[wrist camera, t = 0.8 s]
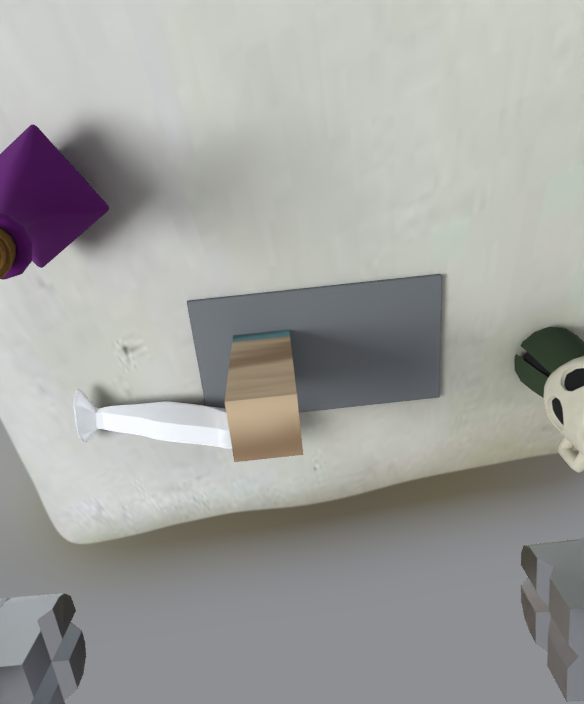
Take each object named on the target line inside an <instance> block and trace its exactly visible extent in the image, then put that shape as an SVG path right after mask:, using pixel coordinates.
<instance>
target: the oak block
mask: <svg viewBox="0 0 584 704" xmlns="http://www.w3.org/2000/svg"><path fill="white" fill-rule="evenodd" d="M225 408H226V414H227V420H228V426H229V432H230V438H231V444H232V450H233V456H234V462H239V461H248V460H258V459H267V458H276V457H286V456H295V455H303V449H302V439H301V430H300V420H299V410H298V401H297V391H296V383H295V374H294V366H293V357H292V349H291V340H290V332H289V330H280V331H271V332H262V333H252V334H243V335H233V340H232V347H231V355H230V363H229V371H228V379H227V386H226V394H225Z"/></svg>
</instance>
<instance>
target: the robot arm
mask: <svg viewBox="0 0 584 704" xmlns="http://www.w3.org/2000/svg"><path fill="white" fill-rule="evenodd" d="M521 566H522V567H523V569H524V570H525V573H526V574H527V576H528V577H527V578H526V580H525V581H524V582H523V584H522V585H521V603H522V608H523V613H524V618H525V620H526V623H527V626H528V629H529V631H530V633H531V635H532V637H533V639H534V641H535V643H536V644H537V645H539V646H541V647H542V648H543V649H545V650H546V651H548V658H547V666H548V668H549V670H550V671H551V674H552V675H553V677H554V679H555V681H556V683H557V685H558V686H559V688H560V690H561V692H562V694H563V696H564V698H565V700H566V701H567V702H569V701H584V538H581V539H577V540H567V541H559V542H550V543H540V544H531V545H524V546H523V549H522V552H521ZM75 612H76V609H75V607H74V604H73V601H72V598H71V596H70V595H67V594H65V593H62V594H48V595H36V596H24V597H12V598H4V599H0V704H65V702H64V701H65V700H66V699H67V698H68V697H69V696H70V695H71V694H73V693H74V691H76V690H77V689H78V686H79V684H80V681H81V679H82V676H83V673H84V665H85V659H86V648H85V640H84V636H83V633H82V630H80V629H79V628H78V627H77V626H75V625H74V624H73V623H72V622H71V620H72V618H73V616H74V614H75Z"/></svg>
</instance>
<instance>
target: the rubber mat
mask: <svg viewBox="0 0 584 704" xmlns="http://www.w3.org/2000/svg"><path fill="white" fill-rule="evenodd" d="M187 306H188V312H189V317H190V323H191V328H192V334H193V339H194V345H195V350H196V356H197V361H198V367H199V372H200V378H201V383H202V388H203V394H204V399H205V405H206V406H211V407H218V408H224V409H226V408H225V394H226V386H227V379H228V371H229V363H230V355H231V347H232V340H233V335H243V334H252V333H262V332H271V331H280V330H289V332H290V340H291V349H292V357H293V366H294V374H295V383H296V391H297V401H298V410H299V412H307V411H316V410H326V409H335V408H344V407H354V406H363V405H372V404H382V403H391V402H400V401H410V400H419V399H428V398H438V397H439V396H440V333H441V274H436V275H427V276H417V277H408V278H398V279H389V280H379V281H370V282H360V283H351V284H342V285H332V286H323V287H313V288H304V289H294V290H285V291H275V292H266V293H257V294H247V295H238V296H228V297H219V298H209V299H200V300H191V301H187Z"/></svg>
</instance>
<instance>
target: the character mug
mask: <svg viewBox="0 0 584 704" xmlns="http://www.w3.org/2000/svg"><path fill="white" fill-rule="evenodd" d="M521 346H522V347H523V348H524V349H525V350H526V351H527V354H526V355H525V360H523V359H522V358H521V357H519V356H518V355H517V354H516V356H515V371H516V373H517V375H518V377H519V378H520V380H521V382H523V383H524V384H525V385H526V386H528V387H529V388H530V389H531V390H533V391H534V392H535V393H537V394H538V395H540V396H541V397H543V399H544V406H545V411H546V413H547V415H548V417H549V419H550V421H551V422H552V423H553V424H554V425H555V427H556V428H557V429H558V430H559V431H560V432H561V433H562V434H563V435H564V438H563V439H562V441H561V443H560V444H559V447H558V452H559V454H560V455H561V456H562V457H563V459H564V460H565V461H566V462H567V463H568V464H569V466H570V467H571V468H572V469H573V470H574V471H576V472H578V473H579V472H582V471H583V470H584V342H583V341H582V340H581V339H580V338H579V337H578V336H577V335H575V334H573V333H572V332H570V331H569V330H567V329H562V328H553V327H549V328H546V329H543V330H540V331H537V332H534V333H533V334H532V335H531V336H529V337H528V338H527V339H526V340H525V341H523V342H522V344H521ZM574 446H575V447H576V448H577V449H578V451H579V453H578V455H576V454H575V453H574V452H573V451H572V449H573V447H574Z"/></svg>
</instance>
